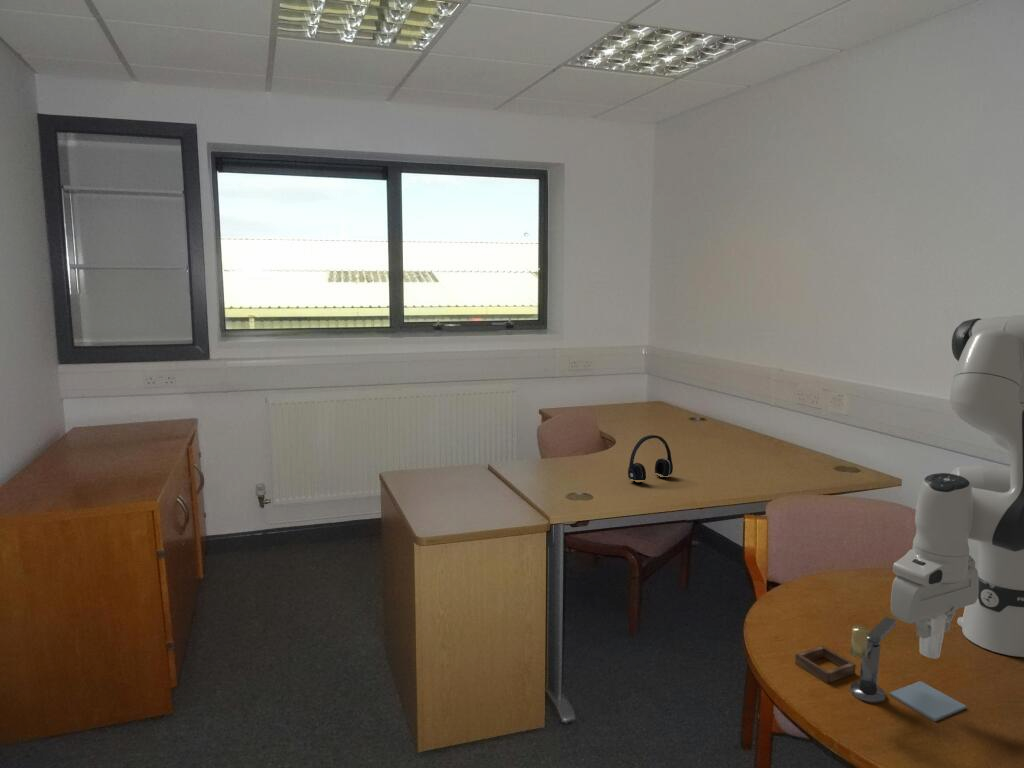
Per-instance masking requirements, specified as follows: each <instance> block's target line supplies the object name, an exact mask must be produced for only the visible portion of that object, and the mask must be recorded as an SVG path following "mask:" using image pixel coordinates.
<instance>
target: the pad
mask: <svg viewBox="0 0 1024 768" xmlns="http://www.w3.org/2000/svg"><path fill="white" fill-rule="evenodd" d="M888 693H889V694H888V695H889V696H890V697H892V698H893V699H895V700H897V701H899V702H901V703H902V704H904V705H906V706H908V707H909V708H911V709H912V710H915V711H916V713H917V712H918V713H919V714H921V715H923V716H925V717H926V718H928V719H929V720H931V721H933V722H937V721H939V720H942V719H944V718H946V717H949V716H951V715H953V714H956V713H959V712H961V711H963V710H965V709H967V705H965V704H964V703H962V702H960V701H958V700H956V699H954V698H952V697H950V696H949V695H947V694H945V693H944V692H942V691H940V690H937V689H935V688H934V687H932V686H930V685H929V684H927V683H925V682H923V681H922V680H919V681H917V682H914V683H912V684H909V685H906V686H904V687H900V688H899V689H896V690H893V691H890V692H888Z"/></svg>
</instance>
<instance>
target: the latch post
mask: <svg viewBox="0 0 1024 768" xmlns="http://www.w3.org/2000/svg"><path fill="white" fill-rule="evenodd" d="M880 656H881V645H880V646H878V647H873V648H872V649H871V650H870V652H869V653H868V654H867V655H866V658H863V659H862V658H860V661H861V662H860V673H859V681H854V682H852V683H851V684H850V690H849V691H850V693H851V695H852V696H853V697H854V698H856V699H858V700H859V701H862V702H864V703H868V704H882V703H883V702H885V701H886V692H885V691H884V689H883V688H882V687H881V686H879V685H878V680H879V668H880Z"/></svg>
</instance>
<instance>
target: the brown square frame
mask: <svg viewBox="0 0 1024 768" xmlns="http://www.w3.org/2000/svg"><path fill="white" fill-rule="evenodd" d="M821 658H824V659H825V660H827V661H829V662H830V663H832V664H833V665H836V666H837V667H835V668H832V669H828V670H827V669H825V668H823V667H822V666H820V665H818V664H817V663H815V662H814V661H816V660H819V659H821ZM794 659H795V661H794V664H796V666H798V667H801V668H802V669H804V670H805V671H807V672H808V673H810V674H811V675H813V676H814V677H816V678H818V679H820V680H821V681H823V682H824V683H826V684H829V683H832V682H835V681H837V680H840V679H843V678H845V677H846V678H847V677H849V676H851V675H854V674H856V669H857V667H856V663H854V662H852V661H851V660H849V659H847V658H845V657H844V656H842V655H841V654H838V653H836V651H833V650H831V649H829V648H828V647H826V646H825V645H821V646H818V647H814V648H812V649H808V650H806V651H802V652H798V653H796V654H795V658H794Z"/></svg>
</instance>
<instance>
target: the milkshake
mask: <svg viewBox="0 0 1024 768" xmlns="http://www.w3.org/2000/svg"><path fill="white" fill-rule="evenodd" d="M953 608H954V607H953ZM953 608H952V610H953ZM952 610H951V611H952ZM951 611H950V612H949V614H950V613H951ZM949 614H948V615H947V614H946V613H943V614H939V615H936V616H933V617H930V618H929V622H927V625H928V628H930V629H931V633H930V634H931V636H930V637H928V638H925V639H923V638H921V637H919V636H918V637H919V644H918V645H919V646H918V647H919V649H918V650H919V651H918V652H919V653H920V655H922V656H924V657H926V658H928V659H933V660H935V659H939V657H940V655H941V651H942V644H943V641H944V635H945V632H944V631H945V627H946V623H947V619H948V616H949Z"/></svg>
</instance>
